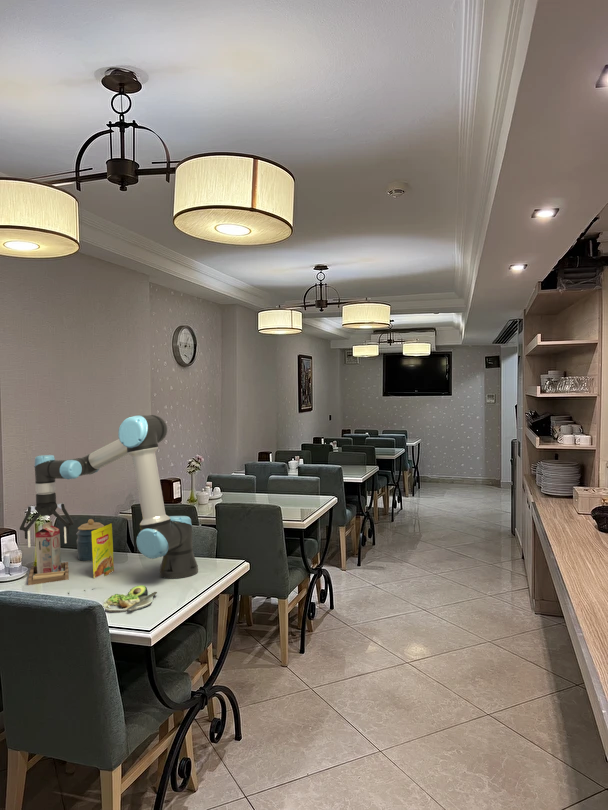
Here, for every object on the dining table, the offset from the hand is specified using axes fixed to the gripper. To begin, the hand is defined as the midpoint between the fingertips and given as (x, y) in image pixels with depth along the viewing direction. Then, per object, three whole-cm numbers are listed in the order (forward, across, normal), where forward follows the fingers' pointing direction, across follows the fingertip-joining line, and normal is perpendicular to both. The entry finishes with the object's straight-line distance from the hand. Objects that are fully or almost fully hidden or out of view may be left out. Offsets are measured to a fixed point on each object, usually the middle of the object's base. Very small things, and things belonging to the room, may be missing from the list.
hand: (47, 544), depth 242 cm
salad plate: (+13, -27, +52) cm, 60 cm away
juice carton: (+13, 0, 0) cm, 13 cm away
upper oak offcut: (+12, 0, +10) cm, 15 cm away
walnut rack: (+13, 0, +4) cm, 14 cm away
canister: (+13, -18, -24) cm, 32 cm away
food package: (+13, -21, +12) cm, 27 cm away
